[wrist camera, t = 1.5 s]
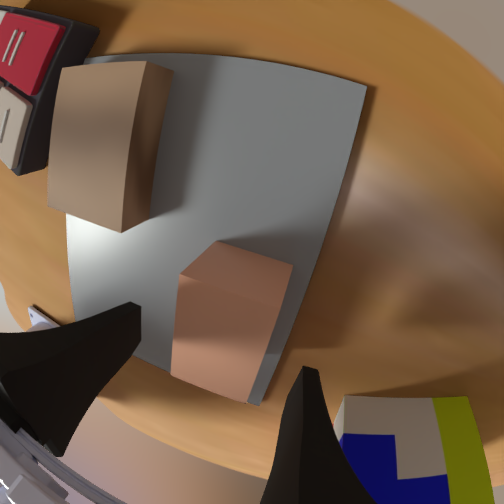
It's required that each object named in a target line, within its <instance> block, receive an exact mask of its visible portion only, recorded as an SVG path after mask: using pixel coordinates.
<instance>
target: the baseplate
mask: <svg viewBox="0 0 504 504" xmlns="http://www.w3.org/2000/svg"><path fill="white" fill-rule="evenodd" d="M128 61H148V62H151V63H154V64H156V65H159V66H162V67H165V68H167V69H170V70H173V71H174V74H173V78H172V82H171V87H170V91H169V95H168V100H167V105H166V109H165V114H164V119H163V125H162V130H161V135H160V141H159V147H158V153H157V159H156V166H155V172H154V180H153V187H152V195H151V204H150V213H149V220H147V221H145V222H143V223H141V224H139V225H137V226H135V227H133V228H131V229H129V230H127V231H125V232H123V233H118V232H116V231H113V230H110V229H107V228H105V227H102V226H99V225H96V224H94V223H91V222H88V221H86V220H83V219H80V218H77V217H75V216H72V215H69V214H67V213H66V222H67V249H68V264H69V275H70V285H71V293H72V301H73V308H74V314H75V321H79V320H82V319H85V318H88V317H91V316H94V315H96V314H99V313H101V312H104V311H107V310H109V309H112V308H114V307H117V306H119V305H122V304H124V303H127V302H130V301H131V302H133V303H135V304H137V305H140V306H141V339H142V340H141V342H140V343H139V345H138V346H137V348H136V350H135V351H134V352H133V354H132V355H134V356H136V357H138V358H140V359H142V360H144V361H146V362H148V363H150V364H152V365H154V366H156V367H159V368H161V369H163V370H165V371H167V372H170V373H171V359H172V345H173V333H174V321H175V311H176V301H177V292H178V283H179V274H180V273H181V272H182V271H183V270H184V269H185V268H187V267H188V266H189V265H190V264H191V263H192V262H193V261H194V260H195V259H196V258H197V257H198V256H200V255H201V254H202V253H203V252H204V251H205V250H206V249H207V248H208V247H209V246H211V245H212V244H213V243H214V242H215V241H218V242H222V243H225V244H228V245H231V246H234V247H237V248H241V249H244V250H247V251H250V252H253V253H257V254H260V255H263V256H266V257H269V258H273V259H276V260H279V261H282V262H285V263H288V264H292V265H293V268H292V272H291V275H290V279H289V282H288V285H287V289H286V292H285V295H284V299H283V302H282V305H281V309H280V311H279V314H278V317H277V320H276V323H275V326H274V329H273V332H272V334H271V337H270V340H269V343H268V346H267V349H266V351H265V354H264V357H263V360H262V362H261V365H260V368H259V370H258V373H257V376H256V378H255V381H254V384H253V386H252V389H251V392H250V394H249V397H248V399H247V402H248V403H251V404H254V405H257V406H259V405H260V403H261V401H262V399H263V396H264V394H265V392H266V390H267V387H268V385H269V383H270V380H271V378H272V376H273V373H274V371H275V369H276V366H277V364H278V361H279V359H280V357H281V354H282V352H283V349H284V347H285V344H286V342H287V339H288V337H289V334H290V332H291V329H292V327H293V324H294V322H295V319H296V316H297V314H298V311H299V308H300V306H301V303H302V301H303V298H304V295H305V292H306V290H307V287H308V284H309V281H310V279H311V276H312V273H313V270H314V267H315V264H316V262H317V259H318V256H319V253H320V250H321V247H322V244H323V241H324V238H325V235H326V232H327V229H328V226H329V223H330V220H331V216H332V213H333V210H334V207H335V204H336V200H337V197H338V194H339V191H340V187H341V184H342V181H343V177H344V174H345V170H346V167H347V163H348V160H349V156H350V152H351V149H352V145H353V141H354V138H355V134H356V130H357V126H358V122H359V118H360V114H361V110H362V106H363V102H364V98H365V93H366V89H367V86H364V85H361V84H358V83H355V82H352V81H349V80H345V79H342V78H338V77H335V76H331V75H327V74H323V73H319V72H315V71H311V70H307V69H303V68H298V67H293V66H288V65H283V64H278V63H272V62H266V61H260V60H253V59H246V58H238V57H229V56H218V55H205V54H185V53H143V54H123V55H111V56H101V57H92V58H85V60H84V64H83V65H88V64H98V63H110V62H128Z"/></svg>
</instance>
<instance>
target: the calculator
mask: <svg viewBox="0 0 504 504" xmlns="http://www.w3.org/2000/svg"><path fill="white" fill-rule="evenodd" d="M99 32H100V30H99V28H97V27H95V26H92V25H88V24H85V23H82V22H79V21H75V20H71V19H68V18H64V17H60V16H56V15H52V14H48V13H43V12H39V11H34V10H29V9H23V8H18V7H11V6H3V5H0V159H1V160H2V161H3V162H4V163H5V164H6V166H7V167H8V168H9V169H11V170H12V171H13V172H14V173H15V174H16V175H17V176H21V175H24V174H28V173H31V172H35V171H38V170H42V169H44V168H45V166H46V162H47V159H48V155H49V149H50V138H51V129H52V121H53V114H54V107H55V101H56V95H57V90H58V85H59V80H60V75H61V70H62V68H65V67H72V66H80V65H83V63H84V60H85V58H86V57H87V55H88V53H89V51H90V50H91V48H92V46H93V44H94V42H95V40H96V38H97V37H98V35H99Z"/></svg>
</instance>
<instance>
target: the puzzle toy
mask: <svg viewBox="0 0 504 504" xmlns="http://www.w3.org/2000/svg"><path fill="white" fill-rule="evenodd" d="M333 428H334V431H335V434H336V436H337V439H338V441H339V443H340V446H341V448H342V450H343V452H344V454H345V456H346V458H347V460H348V462H349V464H350V466H351V467H352V469H353V471H354V472H355V474H356V475H357V477H358V479H359V480H360V482H361V483H362V485H363V486H364V488H365V489H366V490H367V492H368V493H369V494H370V496H371V497H372V498H373V499H374V500H375V502H376V503H377V504H495V503H494V497H493V490H492V485H491V479H490V475H489V470H488V465H487V461H486V457H485V453H484V449H483V445H482V441H481V438H480V434H479V431H478V428H477V424H476V421H475V418H474V415H473V412H472V409H471V406H470V403H469V400H468V397H467V396H460V397H440V398H388V397H367V396H352V395H344V398H343V400H342V403H341V406H340V408H339V411H338V413H337V416H336V418H335V421H334V423H333Z"/></svg>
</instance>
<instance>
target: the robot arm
mask: <svg viewBox="0 0 504 504" xmlns="http://www.w3.org/2000/svg"><path fill="white" fill-rule="evenodd" d="M28 311H29V315H30V319H31V323H32V327H31V328H30V329H29V330H27V331H26V332H21V333H0V487H1V486H2V487H1V488H0V504H69V503H68V502H67V501H65V498H66V497H67V496H68V492H67V491H66V490H65V489H64V488H62V487H61V486H60V485H59V484H58V483H57V482H56V481H55V480H54V479H53V478H52V477H51V476H50V475H49V474H48V473H46V472H45V471H44V470H43V469H42V468H41V467H40V466H38V462H39V463H41V464H42V465H43V466H44V467H46V468H47V469H48V470H49V471H50V472H52V473H53V474H54V475H55V476H57V477H58V478H59V479H61V480H62V481H63V482H65V483H66V484H67V485H69V486H70V487H72V488H73V489H74V490H76V491H77V492H79V493H80V494H82V495H83V496H85V497H86V498H88V499H89V500H91V501H92V502H94V503H96V504H127V503H125V502H123V501H121V500H119V499H118V498H116V497H114V496H112V495H110V494H109V493H107V492H105V491H104V490H102V489H100V488H99V487H97V486H96V485H94V484H92V483H91V482H89V481H88V480H86V479H85V478H83V477H82V476H80V475H79V474H77V473H76V472H75V471H73V470H72V469H70V468H69V467H68V466H66V465H65V464H64V463H62V462H61V461H60V460H58V459H57V458H56V457H62V456H63V455H64V453H65V450H66V448H67V446H68V444H69V442H70V440H71V438H72V436H73V434H74V432H75V430H76V428H77V426H78V425H79V423H80V421H81V420H82V418H83V416H84V415H85V413H86V411H87V410H88V408H89V407H90V405H91V404H92V402H93V401H94V399H95V398H96V396H97V395H98V394H99V392H100V391H101V390H102V389H103V387H104V386H105V385H106V384H107V383H108V382H109V381H110V379H111V378H112V377H113V376H114V375H115V374H116V373H117V372H118V371H119V369H120V368H121V367H122V366H123V365H124V364H125V363H126V361H127V360H128V359H129V358H130V357H131V355H132V354H133V352H134V351H135V350H136V348H137V346H138V345H139V343H140V342H141V340H142V339H141V306H140V305H137V304H135V303H133V302H131V301H130V302H127V303H124V304H122V305H119V306H117V307H114V308H112V309H109V310H107V311H104V312H101V313H99V314H96V315H94V316H91V317H88V318H85V319H82V320H79V321H76V322H73V323H70V324H67V325H63V326H60V325H58V324H57V323H55V322H54V321H52V320H51V319H49V318H48V317H47V316H45V315H44V314H42V313H41V312H40V311H38V310H37V309H35V308H34V307H33V306H29V307H28ZM42 446H43V447H42ZM47 450H48V451H49V452H48V451H47ZM52 454H53V455H54V456H53V455H52ZM260 504H377V503H376V502H375V500H374V499H373V498H372V497H371V496H370V494H369V493H368V492H367V490H366V489H365V488H364V486H363V485H362V483H361V482H360V480H359V479H358V477H357V475H356V474H355V472H354V471H353V469H352V467H351V466H350V464H349V462H348V460H347V458H346V456H345V454H344V452H343V450H342V448H341V446H340V443H339V441H338V439H337V436H336V434H335V431H334V428H333V425H332V423H331V420H330V417H329V413H328V410H327V406H326V403H325V399H324V395H323V391H322V386H321V382H320V376H319V372H318V370H317V369H314V368H310V367H306V366H303V367H302V369H301V371H300V373H299V375H298V377H297V379H296V381H295V383H294V385H293V387H292V388H291V390H290V392H289V394H288V396H287V400H286V403H285V407H284V410H283V414H282V418H281V424H280V429H279V435H278V441H277V446H276V452H275V457H274V462H273V466H272V470H271V473H270V476H269V479H268V482H267V485H266V488H265V491H264V494H263V496H262V499H261V502H260Z"/></svg>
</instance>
